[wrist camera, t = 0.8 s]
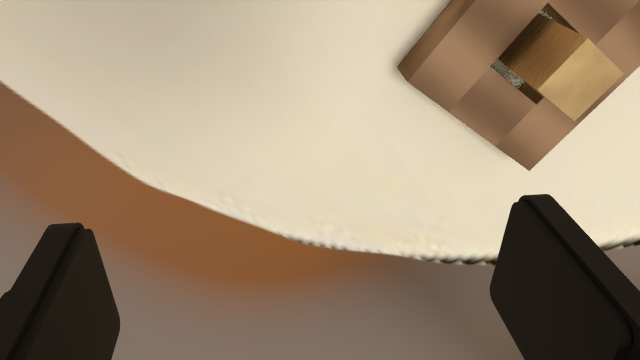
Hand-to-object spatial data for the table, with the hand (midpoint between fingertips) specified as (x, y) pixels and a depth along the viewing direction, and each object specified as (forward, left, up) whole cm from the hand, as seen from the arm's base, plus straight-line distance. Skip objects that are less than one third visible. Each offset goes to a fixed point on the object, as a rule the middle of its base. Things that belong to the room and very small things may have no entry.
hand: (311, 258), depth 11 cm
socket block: (-8, +18, -27) cm, 33 cm away
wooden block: (-8, +18, -27) cm, 33 cm away
